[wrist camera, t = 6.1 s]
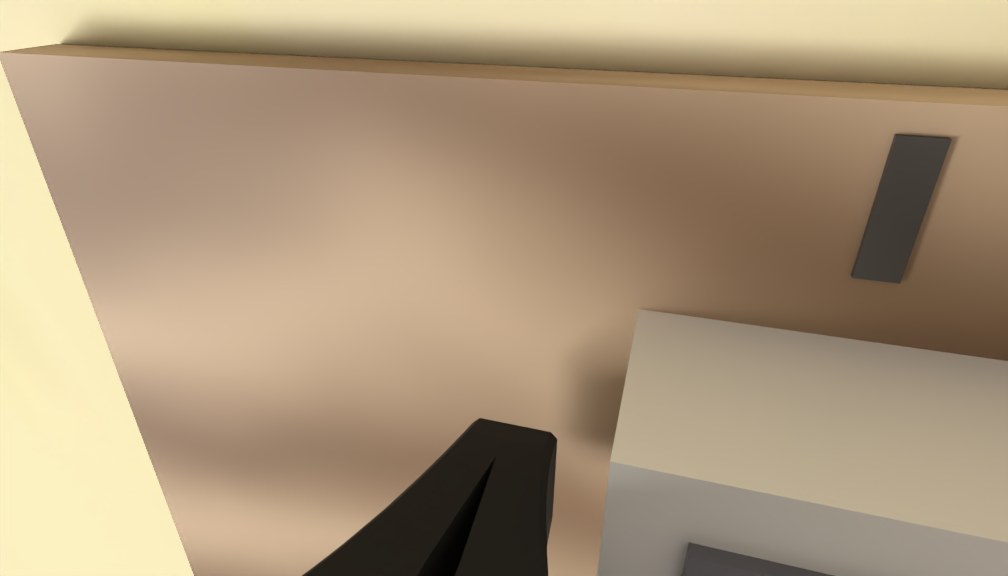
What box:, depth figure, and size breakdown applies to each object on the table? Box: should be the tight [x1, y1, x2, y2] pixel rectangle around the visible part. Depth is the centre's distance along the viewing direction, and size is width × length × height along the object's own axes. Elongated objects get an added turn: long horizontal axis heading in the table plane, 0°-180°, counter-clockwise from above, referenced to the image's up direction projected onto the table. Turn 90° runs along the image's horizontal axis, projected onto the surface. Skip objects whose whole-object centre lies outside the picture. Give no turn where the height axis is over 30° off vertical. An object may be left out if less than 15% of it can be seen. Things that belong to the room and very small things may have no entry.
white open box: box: [597, 309, 1008, 576], centre depth 9 cm, size 5×7×4 cm
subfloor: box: [0, 44, 1008, 576], centre depth 13 cm, size 18×22×1 cm
